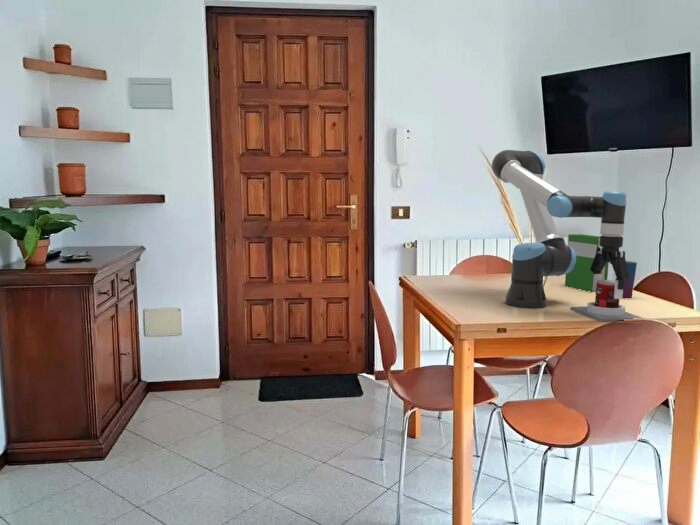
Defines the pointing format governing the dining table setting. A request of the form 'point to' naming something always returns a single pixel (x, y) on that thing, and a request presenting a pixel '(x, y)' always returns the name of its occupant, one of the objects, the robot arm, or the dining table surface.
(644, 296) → the dining table surface
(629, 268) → the cup
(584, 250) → the hardback book
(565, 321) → the dining table surface
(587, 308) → the holder
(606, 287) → the canned food
